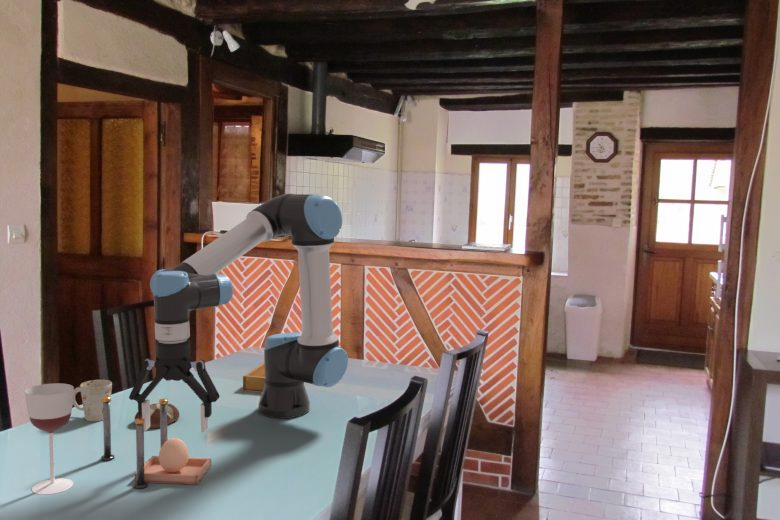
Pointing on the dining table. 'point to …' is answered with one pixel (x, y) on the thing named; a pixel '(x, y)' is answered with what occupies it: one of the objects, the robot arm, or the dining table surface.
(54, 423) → the wineglass
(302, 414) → the robot arm
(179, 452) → the egg
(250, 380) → the tray
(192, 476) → the tray
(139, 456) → the pole
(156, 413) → the bread
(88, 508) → the dining table surface
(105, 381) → the mug
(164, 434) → the pole corner
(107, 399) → the pole
